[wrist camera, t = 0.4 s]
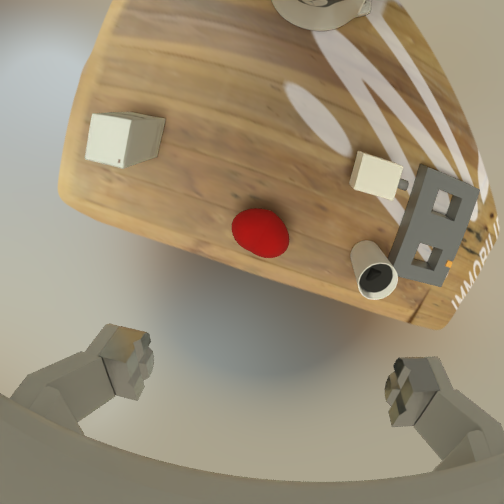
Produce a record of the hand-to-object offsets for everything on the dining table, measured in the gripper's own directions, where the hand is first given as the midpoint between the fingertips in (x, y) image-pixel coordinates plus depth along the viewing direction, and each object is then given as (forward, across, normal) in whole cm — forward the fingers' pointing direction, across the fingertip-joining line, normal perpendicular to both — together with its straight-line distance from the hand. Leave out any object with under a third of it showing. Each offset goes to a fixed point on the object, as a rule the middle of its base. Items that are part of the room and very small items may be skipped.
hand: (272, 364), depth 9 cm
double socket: (+44, -28, +8) cm, 53 cm away
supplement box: (+45, +25, -4) cm, 51 cm away
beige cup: (+44, -16, +15) cm, 50 cm away
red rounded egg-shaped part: (+44, +3, +10) cm, 46 cm away
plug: (+44, -15, 0) cm, 47 cm away
